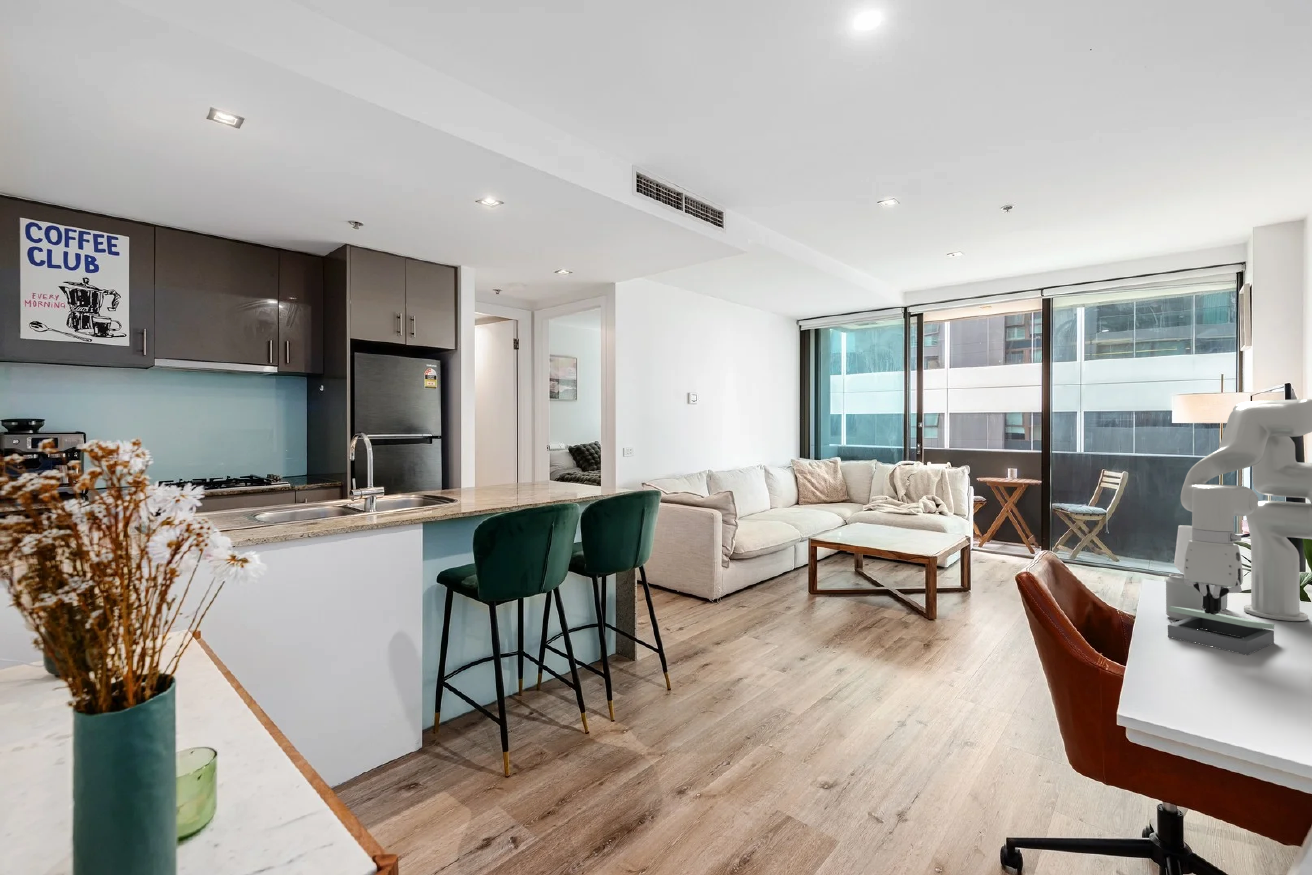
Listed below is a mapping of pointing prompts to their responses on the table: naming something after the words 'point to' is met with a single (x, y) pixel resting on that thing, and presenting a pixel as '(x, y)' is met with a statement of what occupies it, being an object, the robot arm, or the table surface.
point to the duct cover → (1222, 618)
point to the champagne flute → (1182, 545)
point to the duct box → (1248, 644)
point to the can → (1181, 596)
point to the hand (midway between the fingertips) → (1211, 613)
